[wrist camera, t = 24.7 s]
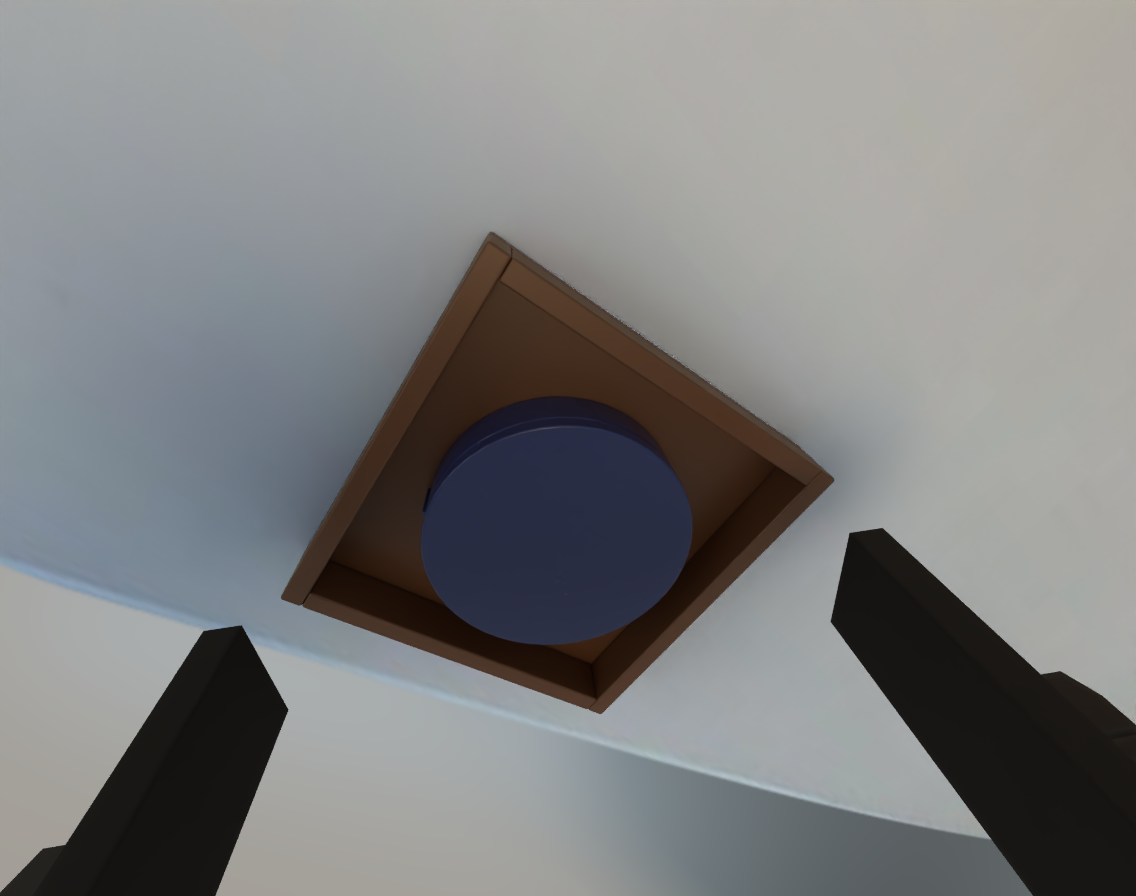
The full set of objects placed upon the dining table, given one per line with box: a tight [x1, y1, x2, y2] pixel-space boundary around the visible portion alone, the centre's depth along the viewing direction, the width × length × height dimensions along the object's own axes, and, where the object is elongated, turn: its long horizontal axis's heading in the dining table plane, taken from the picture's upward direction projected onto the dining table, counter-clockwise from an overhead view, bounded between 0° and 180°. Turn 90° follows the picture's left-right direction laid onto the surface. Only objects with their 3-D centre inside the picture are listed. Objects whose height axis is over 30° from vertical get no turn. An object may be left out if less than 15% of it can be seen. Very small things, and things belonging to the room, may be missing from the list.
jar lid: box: [420, 397, 693, 645], centre depth 15 cm, size 8×7×2 cm
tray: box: [281, 232, 834, 714], centre depth 15 cm, size 11×11×2 cm
